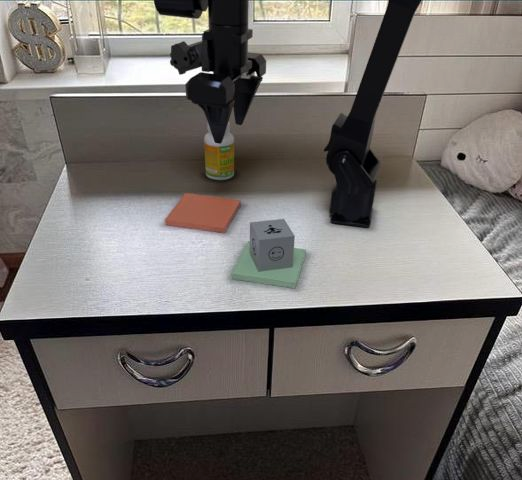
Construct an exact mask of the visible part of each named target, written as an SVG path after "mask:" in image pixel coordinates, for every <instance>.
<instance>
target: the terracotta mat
mask: <svg viewBox="0 0 522 480" xmlns="http://www.w3.org/2000/svg"><path fill="white" fill-rule="evenodd" d="M241 206H242V200H241V199H234V198H226V197H220V196H213V195H211V196H210V195H204V194H195V193H189V192H188V193H187V192H185V193H184V194H183V195H182V197H181V198H180V199H179V200H178V202H177V203H176V205H175V206H174V207H173V208H172V210H170V212H169V213H168V215H167V216H166V217H165V219H164V224H165V226H171V227H178V228H185V229H192V230H193V229H194V230H200V231H207V232H213V233H222V234H226V232H227V231H228V229H229V227H230V226H231V223H232V221H233V220H234V218H235V216H236V215H237V213H238V211H239V209H240V208H241Z"/></svg>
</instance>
